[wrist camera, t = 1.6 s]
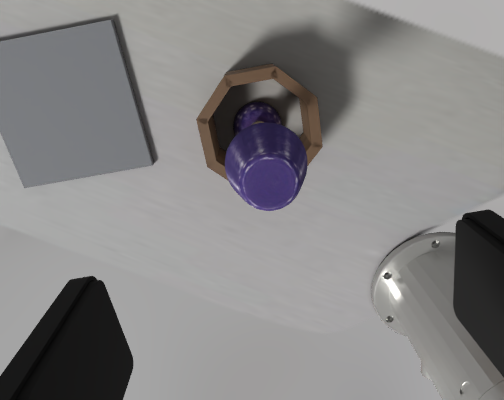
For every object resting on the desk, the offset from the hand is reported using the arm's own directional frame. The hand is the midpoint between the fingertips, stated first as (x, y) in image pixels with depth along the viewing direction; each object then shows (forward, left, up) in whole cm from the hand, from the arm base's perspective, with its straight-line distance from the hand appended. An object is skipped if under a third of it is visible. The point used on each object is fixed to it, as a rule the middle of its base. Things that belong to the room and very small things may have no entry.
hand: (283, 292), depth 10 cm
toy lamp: (0, 0, -25) cm, 25 cm away
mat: (+4, +16, -25) cm, 30 cm away
